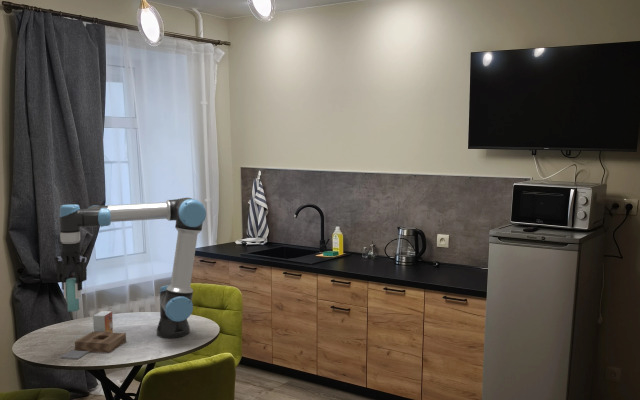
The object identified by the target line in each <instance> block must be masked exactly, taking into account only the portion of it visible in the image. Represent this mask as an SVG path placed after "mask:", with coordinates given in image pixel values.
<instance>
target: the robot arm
mask: <svg viewBox="0 0 640 400" xmlns="http://www.w3.org/2000/svg"><path fill="white" fill-rule="evenodd" d="M206 216H207V209H206V207H205V206H204V204H203V203H202V202H201V201H199V199H198V200H197V199H195V198H191V197H182V198H177V199H175V198H174V199H167V200H166V201H164V202H147V203H145V202H143V203H130V204H129V203H128V204H127V203H126V204H110V205H109V204H108V205H95V204H94V205H90V206H89V207H88V208H80V205H79V204H62V205H60V207H59V227H60V228H59V229H60V231H59V233H60V237H59V238H60V239H59V240H60V242H61V243H60V252H61V254H60V256H55V257H54V260H55V261H54V262H55V265H56V280H57V281H59V282H61V289H62V291H63V298H64V299H67V286H66V280H67V279H69V274H70V267H72V268H73V272H74V278H76V281H77V282H76V283H75V299H78V298H79V299H80V298H82V293H81V292H82V290H83V282H85V281H87V279H88V278H87V269H88V268H87V263H88V260H89V259H88V256H85V257H84V256H82V253H81V250H82V247H81V245H82V244H81V243H82V242H81V228H94V227H95V228H97V227H101V228H103V227H109V226H111V223H116V222H117V223H118V222H119V223H120V222H133V221H149V220H167V221H168V222H169V221H175V227H174V229H176V231H177V238H176V243H175V244H176V245H175V252H174V260H173V263H172V264H173V265H172V273H171V280H170V284H166V285H162V286H160V287H159V312H160V313H159V314H160V315H159V317H160V318H159V322H158V324H157V328H156V336H157V337H160V338H163V339H176V338H181V337H184V336H187V335H189V334H190V333H191V332H190V331H191V327H190V324H189V320H188V319H189V318H190V317H191V314H193V309H194V304H193V295H194V294H193V293H194V290H193V288H191V283H192V276H193V270H194V269H193V267H194V263H195V254H196V249H197V241H198V235H199V233H201V232H202V230H203V226H204V225H203V224H204V222H205V220H206V218H207V217H206ZM189 332H190V333H189ZM188 333H189V334H188Z"/></svg>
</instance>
